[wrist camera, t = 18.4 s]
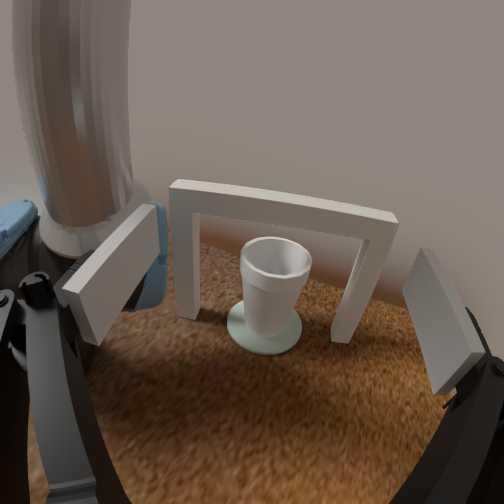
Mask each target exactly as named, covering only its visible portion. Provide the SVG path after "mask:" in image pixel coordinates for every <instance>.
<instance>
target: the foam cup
mask: <svg viewBox="0 0 504 504" xmlns="http://www.w3.org/2000/svg"><path fill="white" fill-rule="evenodd" d="M311 264H312V258H311V256H310V254H309V252H308V251H307V250H306V249H305V248H303V247H302V246H301V245H299V244H298V243H295V242H293V241H290V240H288V239H284V238H278V237H262V238H256V239H254V240H252V241H249V242H247V243H246V244H245V246H244V247H243V249H242V250H241V256H240V270H241V275H242V286H243V301H244V315H245V324H246V327H247V329H248V330H249V331H250V332H251V333H252V334H254V335H256V336H258V337H264V338H270V337H274V336H277V335H278V334H280V333H281V332H282V331H283V329H284V327H285V325H286V323H287V321H288V319H289V317H290V314H291V312H292V310H293V308H294V306H295V304H296V301H297V299H298V297H299V295H300V292H301V290H302V288H303V286H304V285H305V284H306V282H307V279H308V275H309V272H310V268H311Z"/></svg>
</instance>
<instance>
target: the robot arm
mask: <svg viewBox="0 0 504 504" xmlns="http://www.w3.org/2000/svg"><path fill="white" fill-rule="evenodd" d="M130 9H131V0H12V49H13V63H14V73H15V81H16V89H17V95H18V102H19V108H20V114H21V119H22V124H23V129H24V133H25V137H26V142H27V146H28V150H29V153H30V157H31V161H32V165H33V168H34V172H35V175H36V178H37V182H38V185H39V188H40V191H41V194H42V197H43V200H44V203H45V207H44V209H43V211H42V214H41V216H38V214H37V213H38V209H37V208H36V207H35V205H34V203H33V202H32V201H28V200H20V201H16V202H13V203H10V204H7V205H5V206H3V207H1V208H0V504H30V495H29V483H28V461H27V439H28V416H29V403H30V401H31V408H32V415H33V421H34V426H35V432H36V437H37V442H38V446H39V450H40V455H41V459H42V463H43V466H44V470H45V474H46V477H47V480H48V484H49V488H50V494H49V495H48V496H47V498H46V504H132V503H131V502H130V500H129V499H128V497H127V495H126V493H125V491H124V489H123V487H122V485H121V482H120V480H119V478H118V476H117V473H116V471H115V469H114V466H113V464H112V461H111V459H110V456H109V454H108V451H107V448H106V446H105V443H104V440H103V437H102V434H101V432H100V429H99V426H98V422H97V419H96V416H95V413H94V410H93V406H92V403H91V399H90V396H89V392H88V388H87V384H86V380H85V376H84V374H85V373H86V371H87V370H88V368H89V366H90V364H91V361H92V358H93V351H94V347H93V345H96V346H100V345H101V343H102V341H103V340H104V338H105V336H106V335H107V333H108V331H109V330H110V328H111V326H112V325H113V323H114V321H115V320H116V318H117V317H118V315H119V313H120V312H124V311H128V312H136V311H137V310H141V309H148V308H154V307H156V306H158V305H160V304H161V302H162V301H163V299H164V297H165V293H166V285H167V259H166V258H167V249H168V234H167V216H166V210H165V207H164V206H163V205H162V204H158V203H155V202H151V198H150V195H149V192H148V190H147V189H146V187H145V186H144V185H143V184H142V183H141V182H139V181H138V180H136V179H134V178H133V174H132V164H131V153H130V137H129V120H128V39H129V22H130ZM402 293H403V295H404V298H405V301H406V304H407V307H408V310H409V313H410V316H411V319H412V322H413V325H414V328H415V331H416V334H417V338H418V341H419V344H420V348H421V351H422V355H423V358H424V362H425V365H426V369H427V373H428V377H429V381H430V385H431V389H432V393H433V396H437V395H447V394H448V393H449V392H450V391H451V390H452V389H453V388H454V387H456V390H457V394H455V396H453V397H452V398H451V399H450V400H449V401H448V402H447V403H446V404H445V405H444V406H443V409H445V408H446V407H447V406H448V409H447V411H446V413H445V415H444V417H443V419H442V421H441V423H440V425H439V427H438V428H437V430H436V432H435V434H434V436H433V438H432V439H431V441H430V443H429V445H428V446H427V448H426V450H425V452H424V453H423V455H422V457H421V458H420V460H419V461H418V463H417V465H416V466H415V468H414V469H413V471H412V472H411V474H410V475H409V477H408V478H407V480H406V481H405V483H404V484H403V485H402V487H401V488H400V490H399V491H398V492H397V494H396V495H395V496H394V498H393V499H392V500H391V502H390V503H389V504H504V362H503V361H502V360H501V359H499V358H498V357H494V356H492V354H491V352H490V350H489V347H488V345H487V343H486V340H485V338H484V336H483V334H482V333H481V329H480V327H479V326H478V323H477V321H476V319H475V317H474V315H473V314H472V313H471V312H470V311H469V309H468V308H467V307H464V305H463V303H462V301H461V299H460V297H459V295H458V293H457V291H456V289H455V287H454V286H453V284H452V282H451V280H450V278H449V277H448V275H447V273H446V271H445V270H444V268H443V266H442V265H441V263H440V261H439V260H438V258H437V256H436V255H435V253H434V251H433V250H431V249H425V248H420V251H419V253H418V255H417V258H416V260H415V262H414V264H413V266H412V269H411V271H410V274H409V275H408V277H407V280H406V282H405V284H404V286H403V288H402ZM465 502H466V503H465Z"/></svg>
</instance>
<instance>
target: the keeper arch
mask: <svg viewBox="0 0 504 504" xmlns="http://www.w3.org/2000/svg"><path fill="white" fill-rule="evenodd" d="M169 201H170V202H169V203H170V223H171V224H170V225H171V243H172V258H173V271H174V282H175V293H176V303H177V312H178V316H179V317H184V318H188V319H193V320H196V317H197V315H198V312H199V310H200V268H199V213H200V214H207V215H214V216H221V217H229V218H236V219H242V220H250V221H256V222H262V223H269V224H275V225H282V226H288V227H294V228H300V229H306V230H312V231H319V232H324V233H330V234H336V235H342V236H347V237H353V238H359V239H363V240H362V243H361V246H360V249H359V252H358V255H357V258H356V261H355V264H354V267H353V270H352V273H351V275H350V278H349V281H348V284H347V286H346V289H345V292H344V294H343V297H342V300H341V302H340V305H339V308H338V310H337V313H336V315H335V318H334V320H333V323H332V325H331V328H330V331H331V342H339V343H349V342H350V340H351V338H352V336H353V334H354V331H355V329H356V327H357V325H358V323H359V321H360V319H361V317H362V315H363V313H364V310H365V308H366V306H367V304H368V302H369V299H370V297H371V295H372V292H373V290H374V288H375V285H376V283H377V281H378V278H379V276H380V274H381V271H382V269H383V266H384V264H385V261H386V259H387V256H388V253H389V251H390V248H391V245H392V243H393V240H394V237H395V235H396V232H397V229H398V226H399V222H398V221H397V219H396V217H395V216H394V214H393V213H391V212H386V211H382V210H377V209H372V208H368V207H363V206H358V205H353V204H347V203H342V202H336V201H331V200H326V199H320V198H314V197H308V196H303V195H297V194H290V193H284V192H278V191H271V190H264V189H257V188H250V187H243V186H235V185H227V184H219V183H211V182H201V181H192V180H182V179H178V180H176V181H175V182H174V183H173V184H172V185H171V186H170V187H169ZM227 329H228V332H229V335H230V337H231V338H232V339H233V341H234V342H235V343H236V344H237V345H238V346H240V347H241V348H243V349H244V350H247V351H249V352H251V353H254V354H259V355H276V354H281V353H283V352H286V351H288V350H289V349H291V348H292V347H293V346H294V345H296V343H297V342H298V340H299V338H300V335H301V332H302V322H301V319H300V317H299V315H298V314H297V312H296V311H295V310H294V309H293V310H292V312H291V314H290V317H289V319H288V321H287V323H286V325H285V327H284V329H283V331H282V332H281V333H280V334H278V335H277V336H274V337H270V338H264V337H258V336H256V335H254V334H252V333H251V332H250V331H249V330H248V329H247V327H246V324H245V315H244V301H241V302H239V303H237V304H236V305H235V306H234V307H233V308H232V309H231V310H230V312H229V315H228V318H227Z"/></svg>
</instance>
